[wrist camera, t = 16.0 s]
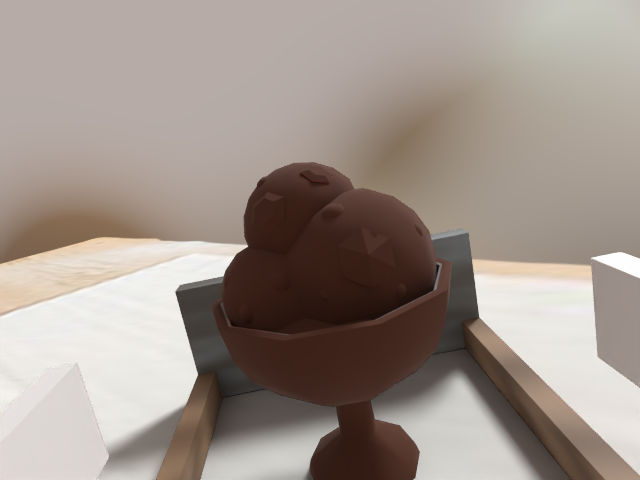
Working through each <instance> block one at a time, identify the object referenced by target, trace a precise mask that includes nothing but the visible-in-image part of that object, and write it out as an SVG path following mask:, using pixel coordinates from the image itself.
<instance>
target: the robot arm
mask: <svg viewBox="0 0 640 480" xmlns="http://www.w3.org/2000/svg"><path fill="white" fill-rule="evenodd" d="M591 267H592V281H593V296H594V310H595V325H596V339H597V354H598V357H599V358H600V359H601V360H603V361H604V362H605V363H607V364H608V365H610V366H611V367H612V368H614V369H615V370H616V371H618V372H619V373H620V374H622V375H623V376H625V377H626V378H627V379H629V380H630V381H631V382H633V383H634V384H635V385H637V386H638V387H640V259H639V258H636V257H633V256H630V255H628V254H625V253H622V252H618V253H613V254H609V255H604V256H598V257H593V258H591ZM108 459H109V455H108V452H107V449H106V446H105V443H104V440H103V437H102V434H101V431H100V429H99V426H98V423H97V420H96V417H95V414H94V411H93V408H92V405H91V402H90V399H89V396H88V393H87V390H86V387H85V384H84V381H83V378H82V375H81V373H80V370H79V367H78V364H77V363H73V364H68V365H63V366H59V367H54V368H49V369H46V370H45V371H44V372H43V373H42V374H41V375H40V376H39V377H38V378H37V379H36V380H35V381H33V382H32V383H31V384H30V385H29V386H28V387H27V388H26V389H25V390H24V391H23V392H22V393H21V394H20V395H19V396H18V397H17V398H15V399H14V400H13V401H12V402H11V403H10V404H9V405H8V406H7V407H6V408H5V409H4V410H3V411H2V412H1V413H0V480H96V479H97V478H98V476H99V474H100V472H101V471H102V469H103V467H104V466H105V464H106V462H107V460H108Z"/></svg>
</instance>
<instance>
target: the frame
mask: <svg viewBox="0 0 640 480" xmlns="http://www.w3.org/2000/svg"><path fill="white" fill-rule="evenodd" d="M430 236H431V239H432V242H433V245H434V248H435V252H436V257H439V258H442V259H445V260H447V261H450V262H452V267H451V281H450V294H449V301H448V307H447V314H446V320H445V325H444V328H443V331H442V334H441V337H440V340H439V342H438V345H437V348H436V350H435V352H434V353H433V354H437V353H442V352H447V351H452V350H456V349H461V348H466V349H467V350H468V351H469V353H470V354H471V355H472V356H473V358H474V359H475V360H476V361H477V363H478V364H479V365H480V366H481V368H482V369H483V370H484V371H485V373H486V374H487V375H488V376H489V378H490V379H491V380H492V381H493V382H494V384H495V385H496V386H497V387H498V389H499V390H500V391H501V392H502V394H503V395H504V396H505V397H506V399H507V400H508V401H509V402H510V404H511V405H512V406H513V407H514V409H515V410H516V411H517V412H518V413H519V415H520V416H521V417H522V418H523V420H524V421H525V422H526V423H527V425H528V426H529V427H530V428H531V430H532V431H533V432H534V433H535V435H536V436H537V437H538V438H539V440H540V441H541V442H542V443H543V444H544V446H545V447H546V448H547V449H548V451H549V452H550V453H551V454H552V456H553V457H554V458H555V459H556V461H557V462H558V463H559V464H560V466H561V467H562V468H563V469H564V471H565V472H566V473H567V474H568V476H569V477H570V478H571V479H572V480H640V475H639V474H637V473H636V472H635V471H634V470H633V469H632V468H631V467H630V466H629V465H628V464H627V463H626V462H625V461H624V460H623V459H622V458H621V457H620V456H619V455H618V454H617V453H616V452H615V451H614V450H613V449H612V448H611V447H610V446H609V445H608V444H607V443H606V442H605V441H604V440H603V439H602V438H601V437H600V436H599V435H598V434H597V433H596V432H595V431H594V430H593V429H592V428H591V427H590V426H589V425H588V424H587V423H586V422H585V421H584V420H583V419H582V418H581V417H580V416H579V415H578V414H577V413H576V412H575V411H574V410H573V409H572V408H571V407H569V406H568V405H567V404H566V403H565V402H564V401H563V400H562V399H561V398H560V397H559V396H558V395H557V394H556V393H555V392H554V391H553V390H552V389H551V388H550V387H549V386H548V385H547V384H546V383H545V382H544V381H543V380H542V379H541V378H540V377H539V376H538V375H537V374H536V373H535V372H534V371H533V370H532V369H531V368H530V367H529V366H528V365H527V364H526V363H525V362H524V361H523V360H522V359H521V358H520V357H519V356H518V355H517V354H516V353H515V352H514V351H513V350H512V349H511V348H510V347H509V346H508V345H507V344H506V343H505V342H504V341H503V340H501V339H500V338H499V337H498V336H497V335H496V334H495V333H494V332H493V331H492V330H491V329H490V328H489V327H488V326H487V325H486V324H485V323H484V322H483V321H482V320H481V319H480V318H479V313H478V305H477V297H476V289H475V281H474V273H473V265H472V257H471V249H470V242H469V234H468V232H466V231H464V230H463V229H456V230H452V231H446V232H441V233H436V234H431V235H430ZM223 278H224V276H223V277H218V278H213V279H208V280H203V281H198V282H193V283H188V284H183V285H180V286H179V288H178V289H177V290H176V296H177V300H178V303H179V307H180V311H181V314H182V318H183V321H184V325H185V329H186V332H187V336H188V339H189V343H190V347H191V350H192V354H193V357H194V361H195V365H196V368H197V372H198V377H197V379H196V382H195V384H194V387H193V389H192V392H191V394H190V397H189V399H188V402H187V404H186V406H185V409H184V411H183V414H182V416H181V419H180V421H179V424H178V426H177V429H176V431H175V434H174V436H173V439H172V441H171V444H170V446H169V449H168V451H167V454H166V456H165V459H164V461H163V464H162V466H161V469H160V471H159V474H158V476H157V479H156V480H200V479H201V475H202V471H203V468H204V464H205V460H206V457H207V453H208V449H209V446H210V442H211V438H212V435H213V431H214V427H215V424H216V420H217V416H218V413H219V409H220V405H221V402H222V398H223V397H226V396H231V395H236V394H241V393H246V392H251V391H256V390H261V389H266V388H264V387H262V386H260V385H258V384H256V383H254V382H252V381H251V380H250V379H249V378H248V377H247V376H246V375H245V374H244V372H243V371H242V370H241V369H240V368H239V367H238V366H237V364H236V363H235V362H234V361H233V359H232V357H231V355H230V353H229V351H228V349H227V347H226V345H225V343H224V341H223V339H222V337H221V335H220V333H219V331H218V327H217V324H216V320H215V317H214V313H213V310H212V307H211V305H212V304H214V303H215V302H216V301H217V300H219V299H220V298H221V297H222V296H221V292H220V289H221V286H222V282H223Z"/></svg>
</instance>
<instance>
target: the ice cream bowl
mask: <svg viewBox="0 0 640 480" xmlns="http://www.w3.org/2000/svg"><path fill="white" fill-rule="evenodd" d="M244 234H245V235H244V237H245V239H246V242H247V244H248V247H247V248H245V249H244V250H242V251H241V252H239V253H237V254H236V256H235V257H234V259H233V260H232V262H231V263H230V265H229V266H228V268H227V269H226V271H225V274H224V278H223V282H222V286H221V289H220V292H221V296H222V297H221V298H220V299H219V300H217V301H216V302H215V303H214V304H212V305H211V307H212V310H213V313H214V317H215V320H216V324H217V327H218V331H219V333H220V335H221V337H222V339H223V341H224V343H225V345H226V347H227V349H228V351H229V353H230V355H231V357H232V359H233V361H234V362H235V363H236V364H237V366H238V367H239V368H240V369H241V370H242V371H243V372H244V374H245V375H246V376H247V377H248V378H249V379H250V380H251V381H252V382H254V383H256V384H258V385H260V386H262V387H264V388H266V389H268V390H270V391H273V392H275V393H277V394H279V395H282V396H286V397H290V398H294V399H298V400H302V401H306V402H310V403H314V404H318V405H323V406H331V407H334V406H336V409H337V415H338V421H339V427H338V428H337V429H335V430H333V431H332V432H330V433H329V434H327V435H326V436H324V437H322V438H321V439H320V441H319V443H318V445H317V448H316V450H315V452H314V454H313V456H312V458H311V462H310V472H311V474H312V476H313V478H314V480H412V479H413V478H415V476H416V470H417V465H418V459H419V453H420V451H419V450H418V448H417V446H416V444H415V442H414V441H413V440H412V439H411V438H410V437H409V436H408V434H407V433H406V432H405V431H404V430H403V429H402V428H401V426H400V425H396V424H392V423H388V422H384V421H380V420H376V419H374V414H373V410H372V405H371V401H370V400H371V399H373V398H374V397H376V396H377V395H379V394H381V393H382V392H384V391H386V390H387V389H389V388H390V387H392V386H394V385H395V384H397V383H398V382H400V381H402V380H403V379H405V378H406V377H408V376H410V375H411V374H413V373H415V372H416V371H417V370H418V369H419V368H420V366H421V365H422V364H423V363H424V362H425V361H426V360H427V359H428V358H429V357H430V356H431V355H432V354H433V353H434V352H435V350H436V348H437V345H438V342H439V340H440V337H441V334H442V331H443V328H444V325H445V320H446V314H447V307H448V301H449V294H450V281H451V267H452V262H450V261H447V260H445V259H442V258H439V257H436V252H435V248H434V245H433V242H432V239H431V236H430V233H429V230H428V229H427V228H426V226H425V225H424V224H423V222H422V221H421V220H420V218H419V217H418V215H417V214H416V213H415V211H414V210H412V209H411V208H409V207H408V206H406V205H405V204H403V203H402V202H401V201H399V200H398V199H396V198H395V197H393V196H390V195H386V194H382V193H379V192H376V191H372V190H369V189H363V188H362V189H354V188H353V185H352V184H351V181H350V179H349V178H347V177H346V176H344V175H343V174H341V173H340V172H338V171H337V170H335V169H334V168H332V167H328V166H325V165H321V164H317V163H314V162H310V163H293V164H290V165H287V166H284V167H282V168H279V169H277V170H275V171H273V172H272V173H271V174H269V175H268V176H266V177H263V178H262V179H260V180H259V182H258V183H257V187H256V189H255V190H254V191H253V193H252V195H251V196H250V198H249V200H248V203H247V207H246V211H245V214H244Z"/></svg>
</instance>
